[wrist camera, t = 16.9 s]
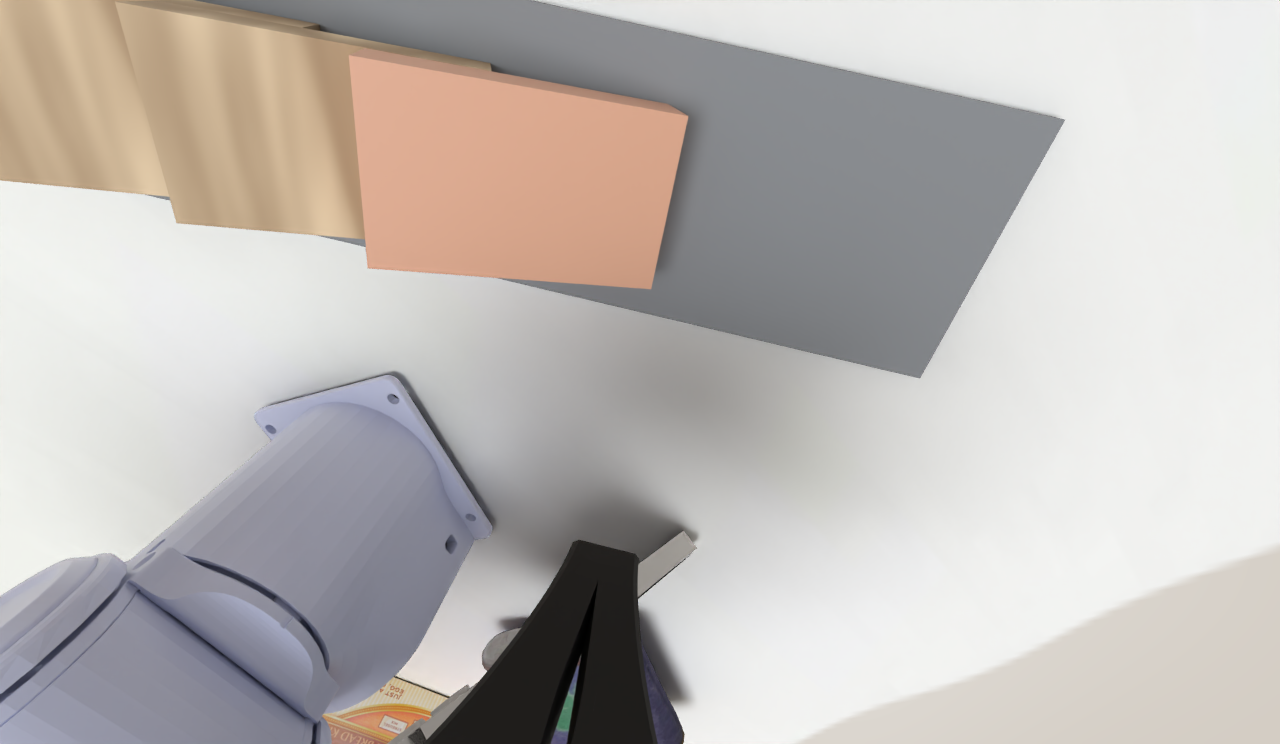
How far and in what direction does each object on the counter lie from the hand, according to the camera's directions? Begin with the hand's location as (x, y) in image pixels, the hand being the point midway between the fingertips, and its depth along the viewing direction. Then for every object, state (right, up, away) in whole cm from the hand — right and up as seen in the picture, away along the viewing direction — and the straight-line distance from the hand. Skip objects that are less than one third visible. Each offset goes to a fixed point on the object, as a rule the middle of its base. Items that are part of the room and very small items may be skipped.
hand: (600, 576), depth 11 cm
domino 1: (-9, +12, +5) cm, 16 cm away
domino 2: (-4, +11, +5) cm, 13 cm away
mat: (-5, +12, +6) cm, 14 cm away
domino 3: (+1, +10, +5) cm, 11 cm away
